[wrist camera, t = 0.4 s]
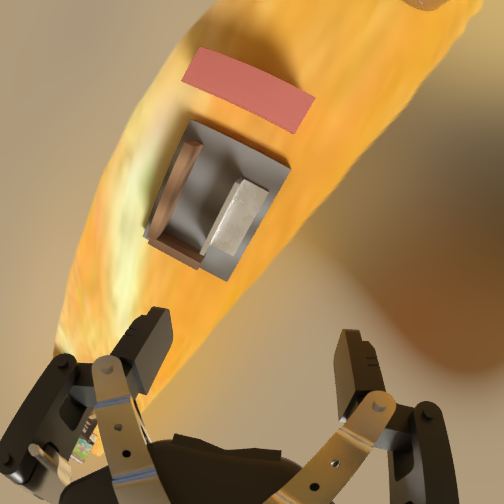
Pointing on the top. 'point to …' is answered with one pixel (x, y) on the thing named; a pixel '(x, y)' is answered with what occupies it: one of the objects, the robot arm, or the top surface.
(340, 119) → the top surface
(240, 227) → the bookend
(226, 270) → the book rack
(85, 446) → the tea box
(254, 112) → the book
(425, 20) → the top surface
